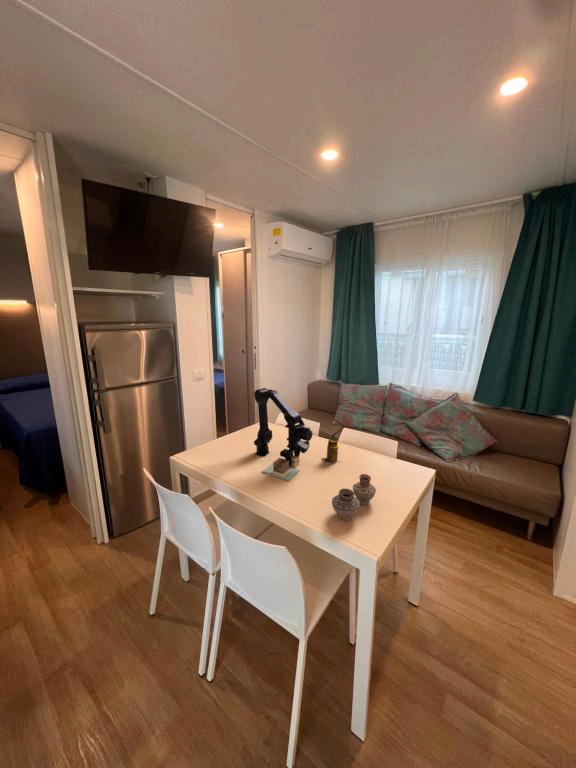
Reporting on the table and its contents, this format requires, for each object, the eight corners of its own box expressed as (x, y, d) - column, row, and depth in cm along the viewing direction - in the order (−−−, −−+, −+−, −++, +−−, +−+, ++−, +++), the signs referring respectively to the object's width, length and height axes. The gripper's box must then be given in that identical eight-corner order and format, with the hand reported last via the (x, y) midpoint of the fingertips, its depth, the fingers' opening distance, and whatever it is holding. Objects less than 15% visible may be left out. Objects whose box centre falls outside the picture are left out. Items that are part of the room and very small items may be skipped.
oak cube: (286, 466, 164) (286, 458, 162) (291, 462, 168) (291, 454, 167) (294, 469, 161) (294, 460, 160) (299, 465, 165) (299, 456, 164)
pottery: (379, 501, 134) (382, 477, 131) (349, 529, 116) (351, 501, 113) (357, 491, 141) (359, 468, 139) (325, 515, 124) (327, 489, 121)
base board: (262, 472, 157) (262, 470, 157) (274, 463, 167) (274, 461, 167) (288, 481, 149) (288, 479, 149) (299, 471, 159) (299, 469, 159)
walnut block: (273, 470, 157) (273, 462, 156) (279, 466, 162) (279, 457, 161) (282, 474, 154) (283, 465, 153) (288, 469, 159) (289, 460, 158)
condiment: (340, 461, 170) (341, 442, 167) (327, 464, 166) (328, 444, 163) (333, 456, 176) (334, 437, 173) (320, 459, 172) (321, 439, 170)
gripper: (298, 445, 149) (297, 474, 152) (314, 433, 164) (314, 460, 168) (279, 440, 154) (279, 468, 158) (297, 429, 170) (296, 455, 173)
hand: (293, 463), depth 164 cm, fingers open, 7 cm apart
